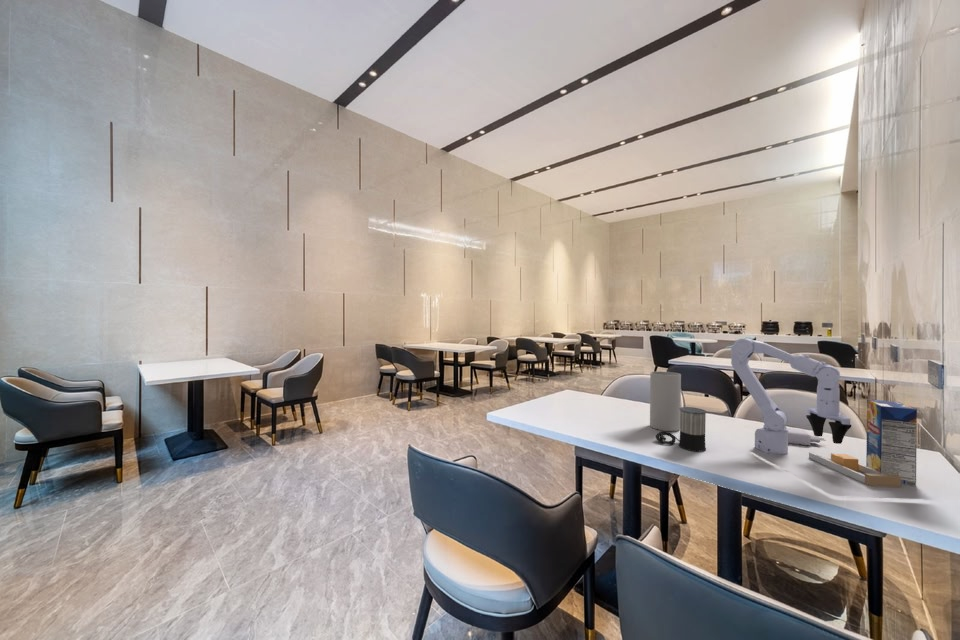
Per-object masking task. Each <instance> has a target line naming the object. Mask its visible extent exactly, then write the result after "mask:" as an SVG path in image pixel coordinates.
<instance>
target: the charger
mask: <svg viewBox="0 0 960 640" xmlns="http://www.w3.org/2000/svg"><path fill="white" fill-rule="evenodd" d="M786 428H787V429H788V444H793V445H799V444H801V446H807V445H808V446H810V445H811V443H821V441H824V442H825V441H827V440H826V439H825V438H823V437H820V436H814V434H809V433H808V432H807V431H806V430H804V429H800V428H792V427H786Z"/></svg>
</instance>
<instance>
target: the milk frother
mask: <svg viewBox="0 0 960 640" xmlns="http://www.w3.org/2000/svg"><path fill="white" fill-rule="evenodd" d="M679 409H680V430H679V438H677V437H676V435H674V434H672V433H671V432H670V431H662V430H660V431H659V432H657V433H656V435H655V439H656V440H657V442H659V443H661V444H663V445H673V444H675V442H676V441H678V446H679V447H680V448H681V449H684V450H686V451H687V450H688V451H692V452H704V451H706V450H707V447H706V420H707V419H706V417H707V415H706V414H707V411H706V410H705V409H702V408H698V407H691V406H683V407H682V406H681V408H679ZM665 436H668V437H670V438H671V440H666V437H665Z"/></svg>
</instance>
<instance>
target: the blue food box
mask: <svg viewBox="0 0 960 640" xmlns="http://www.w3.org/2000/svg"><path fill="white" fill-rule="evenodd" d="M917 411H918V409H916V408H914V407H912V406H910V405H907V404H904V403H902V402H901V401H890V400H880V399H870V398H869V399H866V460H865V463H866V464H865V466H866V467H869V468H871V469H874V470H876V471H878V472H879V473H882V474H892V475H897V476H900V477H901V479H900V484H903V485H907V486H908V485H909V486H915V487H916V486H917V439H918V438H917V437H918V436H917V433H918V432H917V431H918V430H917V429H918V428H917V427H918V426H917V425H918V424H917V423H918V421H917V420H918V419H917V418H918V413H917Z"/></svg>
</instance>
